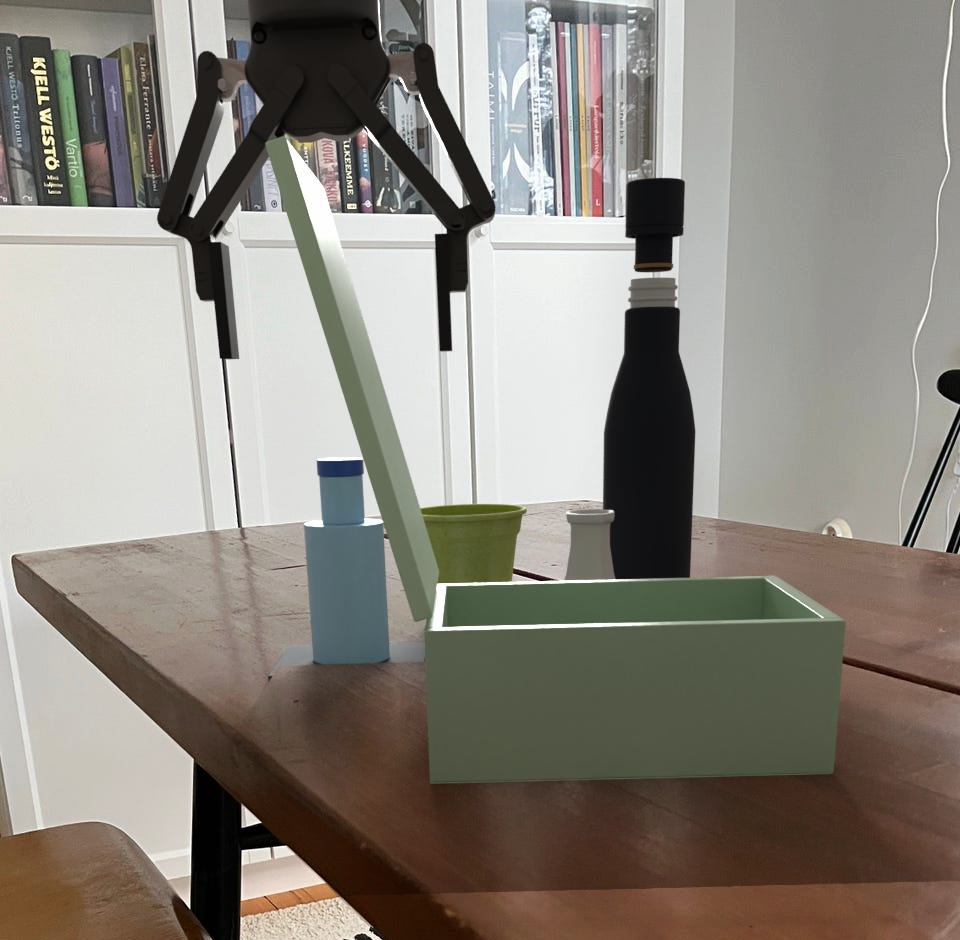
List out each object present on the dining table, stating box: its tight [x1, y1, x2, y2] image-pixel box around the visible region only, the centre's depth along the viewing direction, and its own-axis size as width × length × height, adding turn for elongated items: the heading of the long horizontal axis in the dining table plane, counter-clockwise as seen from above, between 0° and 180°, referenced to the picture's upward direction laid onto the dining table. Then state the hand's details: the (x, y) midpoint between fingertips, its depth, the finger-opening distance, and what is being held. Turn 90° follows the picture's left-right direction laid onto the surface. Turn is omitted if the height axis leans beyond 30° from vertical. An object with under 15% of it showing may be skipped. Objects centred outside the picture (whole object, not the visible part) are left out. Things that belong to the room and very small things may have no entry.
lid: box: [265, 135, 439, 623], centre depth 58 cm, size 19×14×1 cm
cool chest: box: [423, 575, 847, 785], centre depth 63 cm, size 19×14×8 cm
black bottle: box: [602, 177, 696, 580], centre depth 88 cm, size 6×6×30 cm
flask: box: [562, 508, 616, 581], centre depth 82 cm, size 7×7×10 cm
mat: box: [267, 641, 425, 682], centre depth 86 cm, size 10×10×1 cm
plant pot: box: [420, 503, 528, 584], centre depth 100 cm, size 9×9×9 cm
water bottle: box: [303, 457, 390, 665], centre depth 84 cm, size 5×5×13 cm
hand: (337, 355), depth 79 cm, fingers open, 13 cm apart
